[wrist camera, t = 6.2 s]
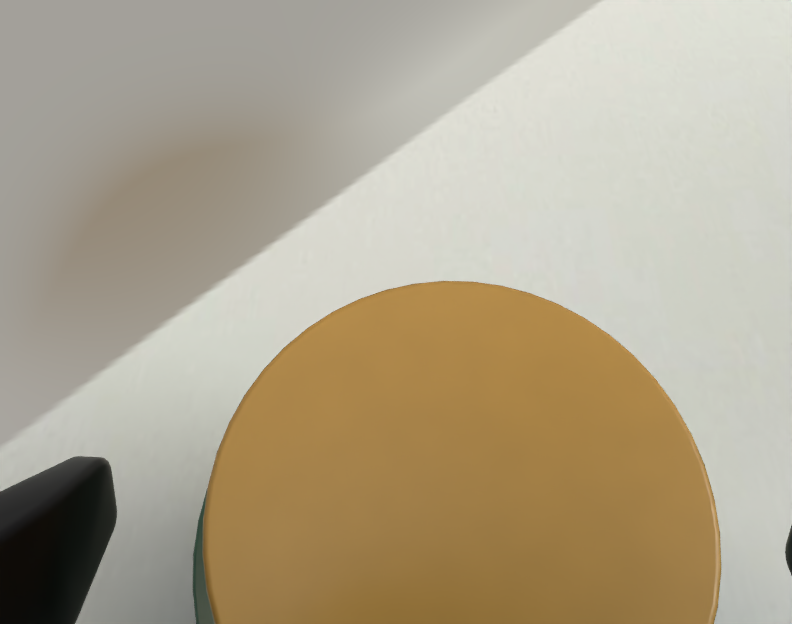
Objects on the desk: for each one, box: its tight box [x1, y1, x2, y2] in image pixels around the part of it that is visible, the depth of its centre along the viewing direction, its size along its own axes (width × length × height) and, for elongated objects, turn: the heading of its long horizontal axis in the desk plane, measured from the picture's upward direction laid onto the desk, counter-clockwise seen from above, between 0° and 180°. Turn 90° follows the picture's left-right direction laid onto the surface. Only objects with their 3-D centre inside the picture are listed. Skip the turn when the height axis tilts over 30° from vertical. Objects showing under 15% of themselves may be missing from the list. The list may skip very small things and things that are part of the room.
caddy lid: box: [193, 281, 721, 624], centre depth 9 cm, size 7×7×5 cm
